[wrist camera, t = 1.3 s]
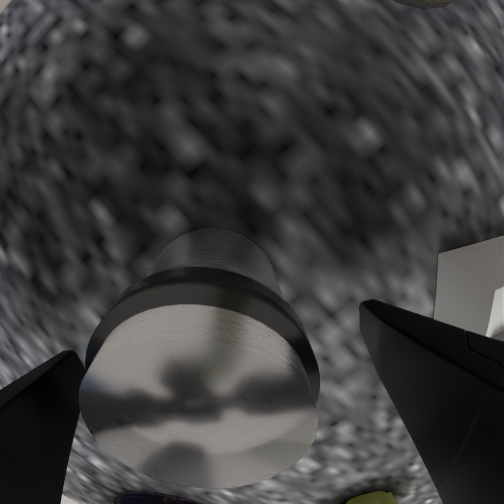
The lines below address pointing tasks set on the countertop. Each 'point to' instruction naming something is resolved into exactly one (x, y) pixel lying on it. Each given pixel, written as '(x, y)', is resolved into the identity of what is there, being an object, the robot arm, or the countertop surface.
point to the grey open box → (472, 288)
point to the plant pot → (374, 498)
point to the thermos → (425, 3)
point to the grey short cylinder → (203, 369)
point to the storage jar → (149, 498)
